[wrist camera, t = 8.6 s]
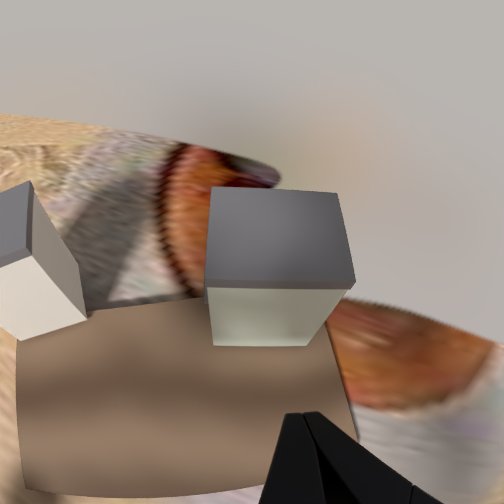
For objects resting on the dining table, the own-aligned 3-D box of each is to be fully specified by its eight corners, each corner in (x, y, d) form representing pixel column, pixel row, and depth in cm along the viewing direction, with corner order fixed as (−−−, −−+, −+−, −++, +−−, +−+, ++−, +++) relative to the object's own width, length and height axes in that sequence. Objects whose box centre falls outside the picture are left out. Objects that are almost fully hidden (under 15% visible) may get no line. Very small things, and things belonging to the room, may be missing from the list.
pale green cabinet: (307, 346, 17) (355, 281, 11) (208, 346, 17) (198, 278, 10) (301, 280, 19) (336, 193, 13) (211, 278, 19) (206, 186, 13)
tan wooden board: (355, 455, 15) (361, 456, 14) (34, 487, 11) (25, 488, 11) (307, 287, 21) (310, 280, 20) (26, 323, 17) (18, 317, 16)
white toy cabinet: (88, 320, 17) (25, 247, 10) (17, 342, 15) (-59, 283, 9) (78, 263, 19) (29, 180, 12) (14, 286, 17) (-48, 216, 11)
